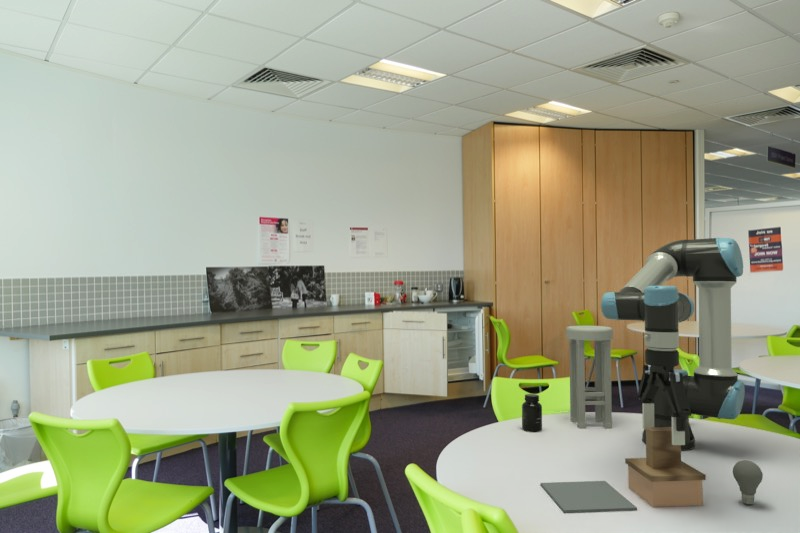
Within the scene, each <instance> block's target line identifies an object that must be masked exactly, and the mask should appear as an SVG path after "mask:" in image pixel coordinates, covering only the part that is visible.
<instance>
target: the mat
mask: <svg viewBox="0 0 800 533" xmlns="http://www.w3.org/2000/svg"><path fill="white" fill-rule="evenodd" d="M540 486H541V488H542V489H543V490H544V491H545V493H546V494H547V495H548V496H549V497H550V498H551V499H552V500H553V502H554V503H555V504H556V505H557V506H558V507H559V509H560V510H561V511H562V512H563V513H564V514H569V513H572V514H575V513H598V512H600V513H601V512H605V513H606V512H624V511H625V512H627V511H628V512H629V511H631V512H633V511H638V507H637V506H636V505H634V503H633V502H631V501H630V500H628V499H627V498H626V497H625V496H624V495H623V494H622V493H620V492H619V491H618V490H616V489H615V488H614V487H613V486H612V485H611V484H609V483H608V482H607V481H606V480H591V481H589V480H588V481H560V482H554V481H552V482H540Z"/></svg>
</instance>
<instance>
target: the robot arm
mask: <svg viewBox="0 0 800 533" xmlns="http://www.w3.org/2000/svg"><path fill="white" fill-rule="evenodd" d="M743 273H744V260H743V255H742V251H741V248H740V246H739V244H738V242H737V240H735V239H734V238H731V237H714V238H712V237H711V238H709V237H708V238H697V239H695V238H693V239H679V240H675V241H671V242H669V243H666V244H665V245H663V246H661V247H659V248H658V249H656V250H654V251H653V252H651V253H650V254H649V255H648V256H647V258H646V260H645V262H644V266H643V267H641V269H640V270H639V271H638V272H637V273H636V274H635V275H633V277H632V278H631V279H630V280H628V281H627V283H626V284H625V285H624V286H623V287H622V288H621V289H620V290H619V291H617V292H616V291H612V292H610V291H609V292H608V291H607V292H605V293H604V294H603V295H602V298H601V303H600V308H601V313H602V316H604V318H605V319H608V320H617V321H639V322H640V321H642V322H643V321H644V335H643V339H644V346H645V347H646V349H645V350H644V362H645V364H643V366H642V375H641V380H640V382H639V388H638V391H637V396H636V398H637V399H639V400H640V402H641V403H642V406H641V407H642V410H641V411H642V429H643V430H642V433H641V434H642V439H641V440H642V442H643V444H645V445H646V428H649V427H672V445H681V451H689V450H692V449H694V448H695V447H696V440H695V439H696V438H695V436H694V433H693V430H692V428H691V424H690V420H689V421H688V416H689V417H690V416H692V415H695V416H702V417H709V418H716V419H718V420H721V419H723V420H735V419H737V418H738V417H739V415H740V413H741V411H742V410H743V406H744V401H745V394H746V388H745V383H744V381H742V380H740V379H739V378H738V377H739V375H738V373H737V372H736V371H735V369H733V367H732V365H733V362H732V288H733V286H735V285H736V284H737V278H739V277H741V276H743ZM676 277H677V278H678V277H691V278H692V283H693V284H694V285H695V286H696V287H697V288H698V354H699V355H698V358H699V360H698V366H697V367H696V368H695V369H694V370H693V375H689V373H688V370H687V369H686V370H685V369H679V368H677V369H675V367H678V366H679V364H680V352H679V350H678V349H679V348H680V336H679V335H680V334H679V333H680V331H679V323H682V322H685V321H688V319H690V318H691V317H692V316H693V314H694V312H695V308H696V306H695V303H694V301H693V299H692V298H691V297H690V296H689V295H688V294H685V293H682V292H679V290H678V287H677V286H675V285H664V284H665V283H666V282H668V281H670V280H672V279H674V278H676Z"/></svg>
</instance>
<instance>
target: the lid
mask: <svg viewBox="0 0 800 533" xmlns="http://www.w3.org/2000/svg"><path fill="white" fill-rule="evenodd" d="M624 463H625V465H627V466H628V465H629V466H630V467H631V468H633V469H634V470H636V471H637V472H638V473H640V474H641V475H643V476H644V477H645V478H647V479H648V480H650V481H651V482H659V481H690V480H702V481H707V480H706V479H707V478H706V474H705V473H704V472H701V471H700V470H698V469H697V468H695V467H694V466H691V465H690V464H687V463H686V462H684V461H683V460H682V450H681V445H672V427H649V428H646V444H645V457H628V458H626V457H625V458H624Z"/></svg>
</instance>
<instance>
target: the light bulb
mask: <svg viewBox="0 0 800 533" xmlns="http://www.w3.org/2000/svg"><path fill="white" fill-rule="evenodd" d="M732 475H733V478H734V479H735V482H736V483H737V485H738V488H739V491H740V492H741V502H742V503H744V504H745V503H746V505H749V504H751V505H754V504H755V495H756V493H757V489H758V487H759V486H760V484H761V483H762V482H763V477H764V476H763V475H764V474H763V471H762V469H761V467H760V466H759V465H758V464H757V463H755V462H754V461H751V460H747V459H742V460H739V461H737V462H735V464H734V466H733V467H732Z"/></svg>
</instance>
